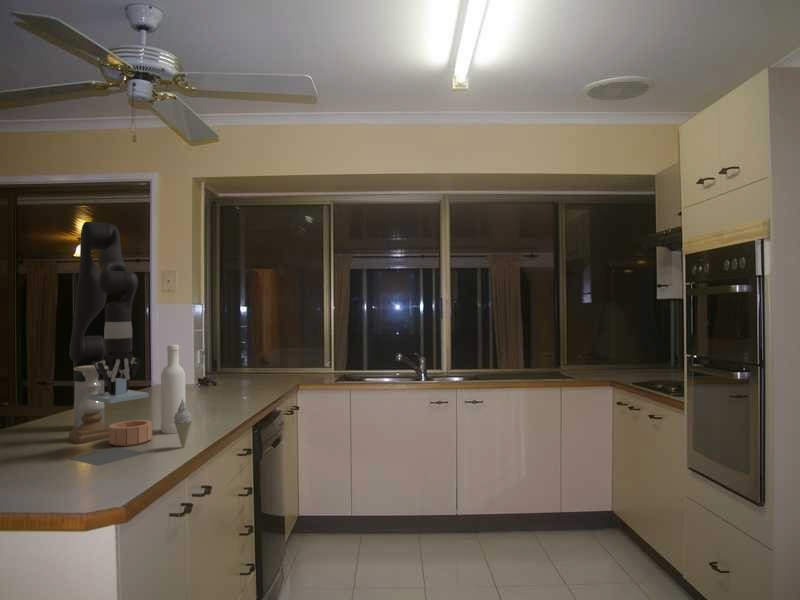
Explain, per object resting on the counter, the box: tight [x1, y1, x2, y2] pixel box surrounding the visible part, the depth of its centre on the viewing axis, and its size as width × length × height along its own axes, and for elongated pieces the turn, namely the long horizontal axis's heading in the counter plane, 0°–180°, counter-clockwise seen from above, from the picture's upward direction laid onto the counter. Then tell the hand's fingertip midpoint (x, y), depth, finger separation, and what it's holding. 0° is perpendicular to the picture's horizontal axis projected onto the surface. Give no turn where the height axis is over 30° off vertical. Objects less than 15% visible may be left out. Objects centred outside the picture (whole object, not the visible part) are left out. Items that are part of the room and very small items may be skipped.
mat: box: [67, 446, 146, 467], centre depth 149 cm, size 15×14×1 cm
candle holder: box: [68, 364, 110, 445], centre depth 172 cm, size 11×11×24 cm
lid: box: [87, 377, 150, 404], centre depth 158 cm, size 12×12×6 cm
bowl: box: [108, 419, 153, 447], centre depth 165 cm, size 12×12×6 cm
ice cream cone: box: [174, 399, 193, 448], centre depth 157 cm, size 5×5×15 cm
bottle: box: [160, 344, 187, 435], centre depth 181 cm, size 8×8×30 cm
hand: (118, 392), depth 158 cm, fingers closed on lid, 3 cm apart
